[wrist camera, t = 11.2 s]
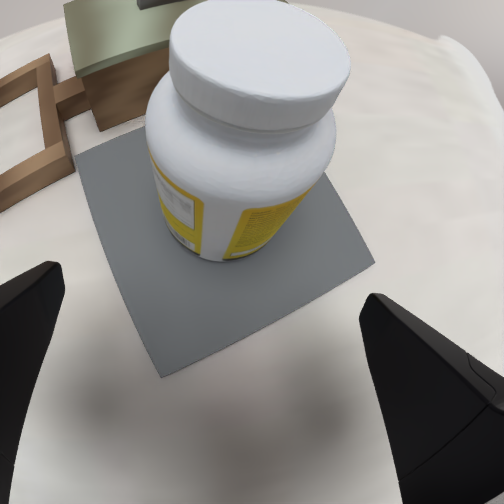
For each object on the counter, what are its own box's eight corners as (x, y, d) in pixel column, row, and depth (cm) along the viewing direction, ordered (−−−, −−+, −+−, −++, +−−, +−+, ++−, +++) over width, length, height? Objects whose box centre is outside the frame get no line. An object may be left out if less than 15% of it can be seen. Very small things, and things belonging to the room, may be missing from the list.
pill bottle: (295, 194, 19) (402, 50, 7) (242, 287, 17) (341, 194, 5) (203, 141, 18) (226, -32, 7) (139, 225, 16) (77, 60, 5)
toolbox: (-50, 246, 14) (-112, 211, 7) (-49, 132, 16) (-86, 86, 9) (296, 95, 21) (329, 25, 15) (232, 17, 23) (244, -43, 16)
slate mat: (162, 376, 15) (161, 377, 15) (77, 160, 17) (74, 156, 17) (370, 264, 19) (375, 262, 18) (267, 94, 21) (269, 89, 20)
